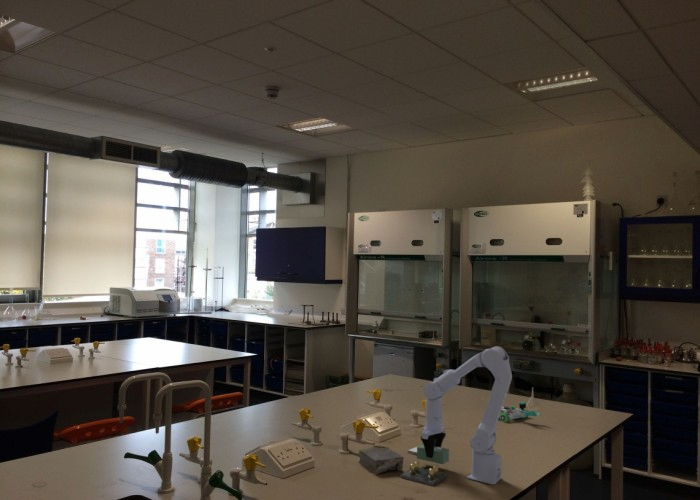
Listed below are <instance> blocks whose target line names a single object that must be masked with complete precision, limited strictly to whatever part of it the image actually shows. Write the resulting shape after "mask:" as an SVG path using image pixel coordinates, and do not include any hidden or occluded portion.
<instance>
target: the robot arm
mask: <svg viewBox="0 0 700 500" xmlns="http://www.w3.org/2000/svg"><path fill="white" fill-rule="evenodd" d="M483 367H484V368H485V367H486V369H488V370H489V371H490V373H491V374H492V375H493V377H494V382H493V385H492V388H491V391H490V394H489V397H488V401H487V403H486V407H485V410H484V412H483V415H482V418H481V421H480V424H479V425H478V427H477V429H476V432H475V434H473V435H472V437H471V438H470V441H469V443H470V447H471V474H469V475H467V476H466V479H469V480H472V481H473V480H474V481H477V482H481V483H485V484H489V485H494V486H495V485H496V484H497V483H499V482H500V480H502V479H503V476H502V469H503V467H502V466H503V465H502V461H503V460H502V455H500V454H498V453H496V452H495V449H494V446H495V444H496V442H497V425H498V422H499V420H500V419H499V416H500V413H501V410H502V407H503V406H504V403H505V401H506V399H507V394H508V391H509V390H510V386H511V382H512V380H513V379H512V378H513V374H512V369H511V365H510V356H509V355H508V353H507V351H506V350H505V349H504V348H503V347H501V346H498V345H497V346H496V345H495V346H493V347H491V348H490V347H489V348H486V349H484V350H483V351H481V352H479V353H476V354H475V355H474V356H472V357H471V358H469V359H468V360H467V361H465V362H464V363H463V364H461V365H460V366H458V368H456V369H453V368H452V369H451V368H450V369H444V370H443V373H442V374H441V375H439V376H438V377H434V378H433V381H432V382H428V383H427V384H426V385H425V386H424V389H423V394H424V396H425V398H426V399H425V426H422V430H423V432H421V436H420V440H421V442H422V444H423V445H424V448H425V452H426V457H429V458H432V457H433V453H434V447H435V446H436V447H442V445H443V442H444V440H445V438H446V435H447V433H446V432H444V431H445V424H442V423H443V396H444V395H445V394H446V393H448V391H450V390H453V388H454V387H457V386H458V385H459V384H460V383H461V379H462V377H464V376H466V375H467V374H468V373H470V372H472V371H473V370H475V369H476V368H483Z"/></svg>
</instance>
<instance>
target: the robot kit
mask: <svg viewBox="0 0 700 500" xmlns="http://www.w3.org/2000/svg"><path fill="white" fill-rule="evenodd" d="M518 405H519V408H517V407H516V406H514V405H512V406H510V407H509V406H506V405H503V407H502V410H501V413H500V416H499V419H498V420H500V421H501V422H502V423H507V422H509V421H511V420H515V419H521V418H522V419H527V418H528V417H529V416H530V417H537V416H541V415H542V413H541V412H538V411H536V410H528V409H527V408H526V407H527V403H526V402H525V401H523V402H522V401H521V402H519V403H518Z"/></svg>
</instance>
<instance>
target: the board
mask: <svg viewBox="0 0 700 500" xmlns="http://www.w3.org/2000/svg"><path fill="white" fill-rule="evenodd" d="M416 447H417V455H416V459H418V460H423V461H426V462H431V463H435V464H439V465H444V464H446V463H448V462H449V460H450V449H449V448H445V447H442V446H441V447H442V448H441V447H436V446H435V447H434V453H433V457H432V458H429V457H426V452H425V448H424V445H423V443H422V444H420V445H418V446H416Z"/></svg>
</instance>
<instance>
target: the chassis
mask: <svg viewBox="0 0 700 500" xmlns="http://www.w3.org/2000/svg"><path fill="white" fill-rule="evenodd" d="M400 478H401V479H405V480H409V481H413V482H417V483H421V484H425V485H429V486H433V487H434V486H435V485H437V484H439V483H440V482H442V481H443V480H444V479H446V478H447V473H442V472H439V466H438V465H433V466H432V467H429V468H428V469H427V468H422V467H420V461H418V460H415V461H413V462H412V463H410V464H409V469H407V470H406V471H404V472H403V473H401V474H400Z"/></svg>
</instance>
